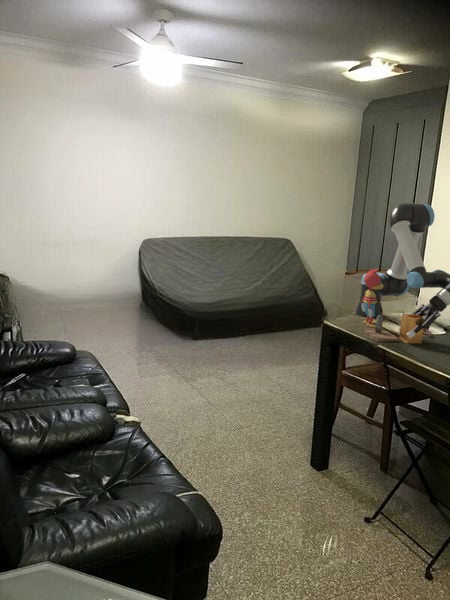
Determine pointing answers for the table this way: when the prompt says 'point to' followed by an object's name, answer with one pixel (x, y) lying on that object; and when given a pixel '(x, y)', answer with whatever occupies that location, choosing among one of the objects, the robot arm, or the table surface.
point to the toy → (371, 296)
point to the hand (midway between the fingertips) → (404, 333)
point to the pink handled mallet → (429, 333)
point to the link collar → (410, 328)
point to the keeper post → (380, 332)
